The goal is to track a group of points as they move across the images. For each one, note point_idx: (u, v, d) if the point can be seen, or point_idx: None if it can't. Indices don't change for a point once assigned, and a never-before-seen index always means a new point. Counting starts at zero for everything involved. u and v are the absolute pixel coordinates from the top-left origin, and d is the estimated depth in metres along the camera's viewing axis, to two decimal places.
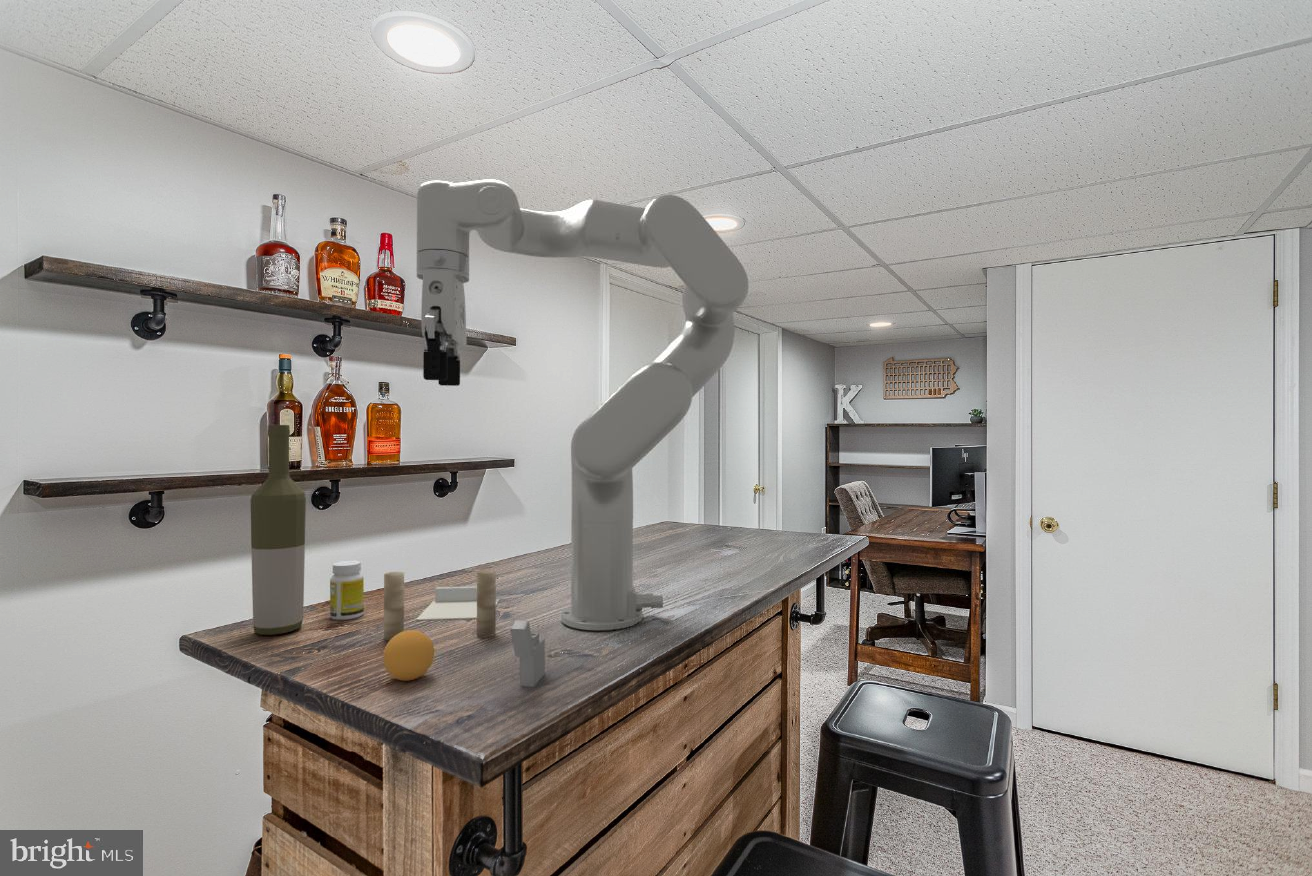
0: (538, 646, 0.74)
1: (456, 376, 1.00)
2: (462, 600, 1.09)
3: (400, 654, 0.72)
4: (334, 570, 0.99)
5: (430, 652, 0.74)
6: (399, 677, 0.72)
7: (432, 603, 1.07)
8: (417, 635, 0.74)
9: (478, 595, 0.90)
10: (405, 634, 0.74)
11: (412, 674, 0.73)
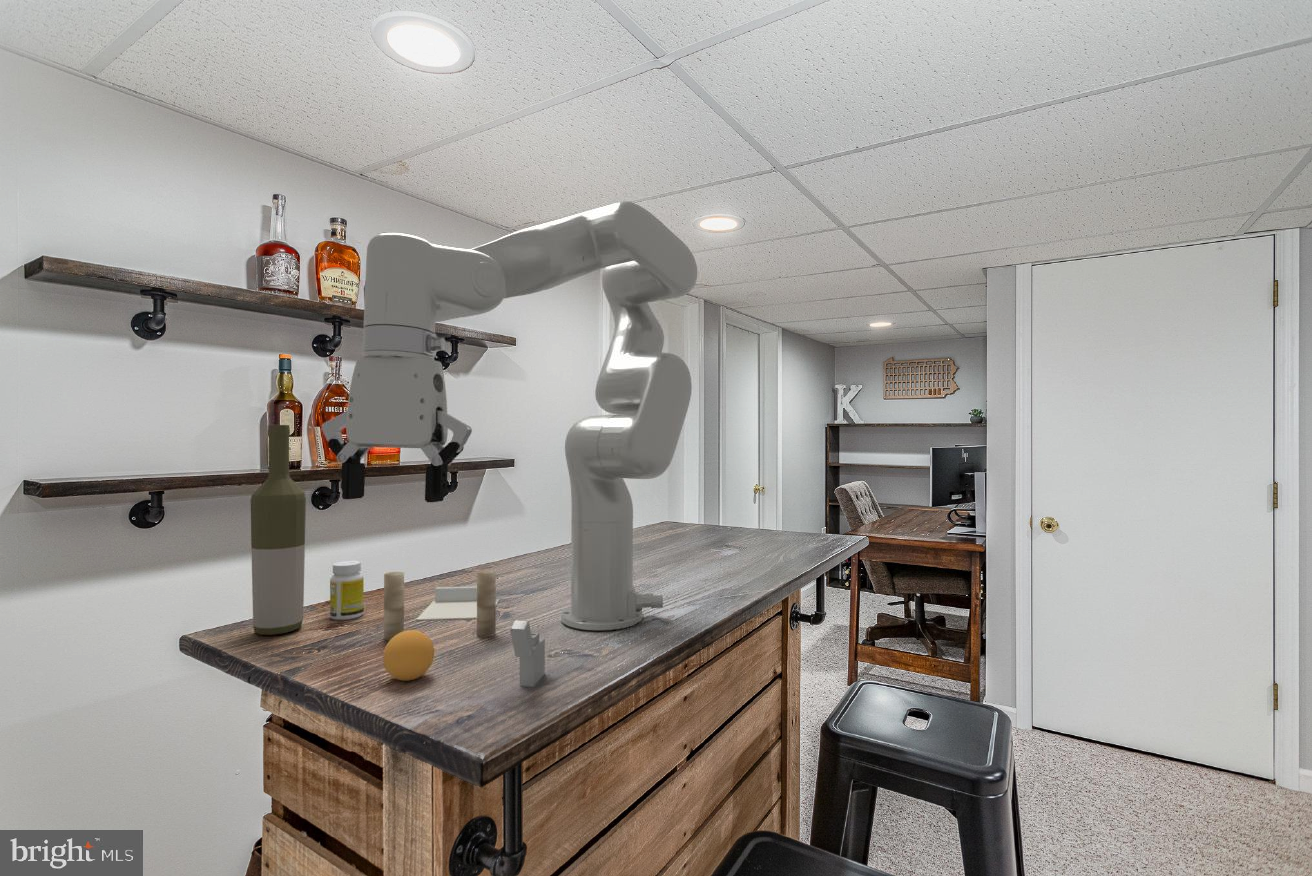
0: (538, 646, 0.74)
1: (362, 485, 0.73)
2: (462, 600, 1.09)
3: (400, 654, 0.72)
4: (334, 570, 0.99)
5: (430, 652, 0.74)
6: (399, 677, 0.72)
7: (432, 603, 1.07)
8: (417, 635, 0.74)
9: (478, 595, 0.90)
10: (405, 634, 0.74)
11: (412, 674, 0.73)
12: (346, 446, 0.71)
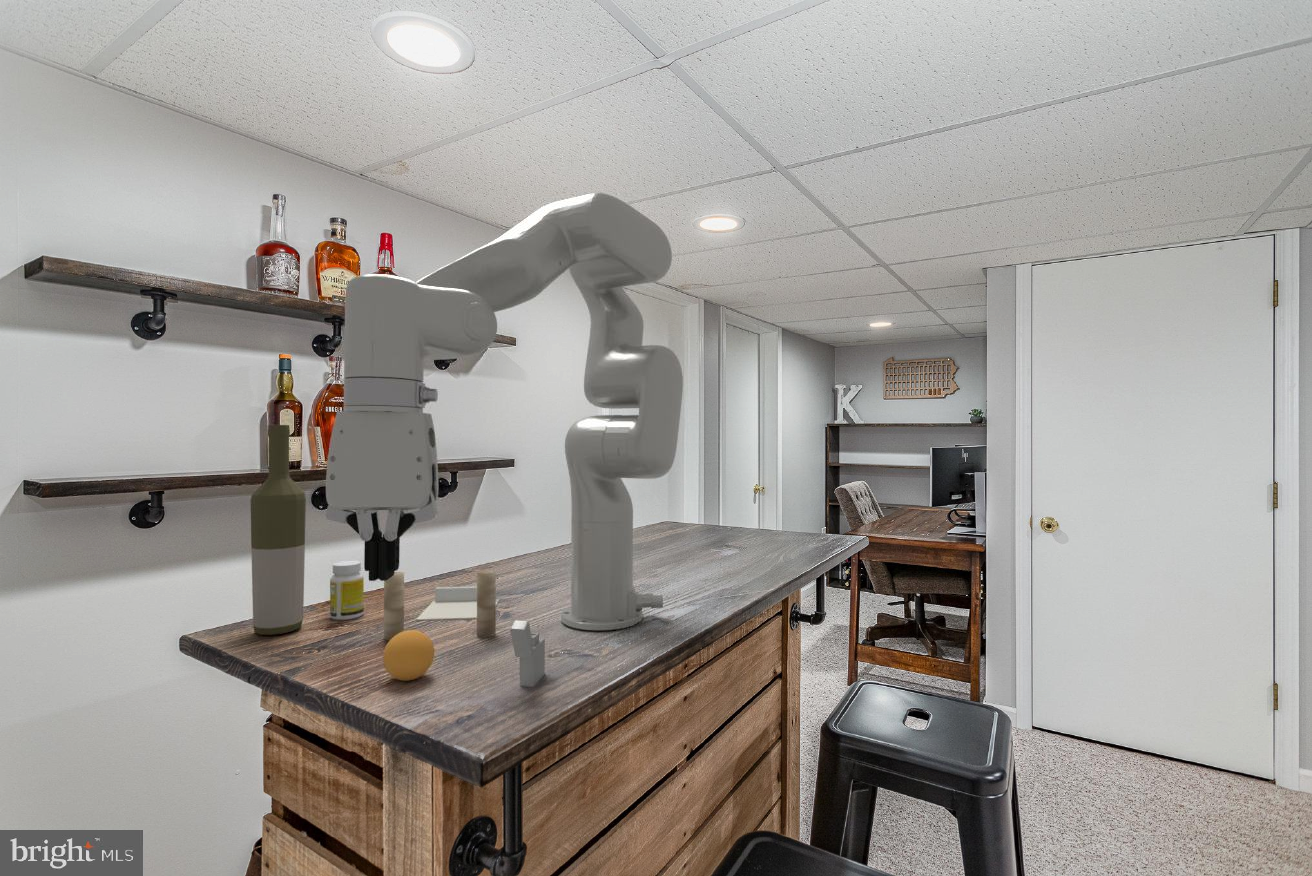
0: (538, 646, 0.74)
1: None
2: (462, 600, 1.09)
3: (400, 654, 0.72)
4: (334, 570, 0.99)
5: (430, 652, 0.74)
6: (399, 677, 0.72)
7: (432, 603, 1.07)
8: (417, 635, 0.74)
9: (478, 595, 0.90)
10: (405, 634, 0.74)
11: (412, 674, 0.73)
12: (359, 522, 0.64)
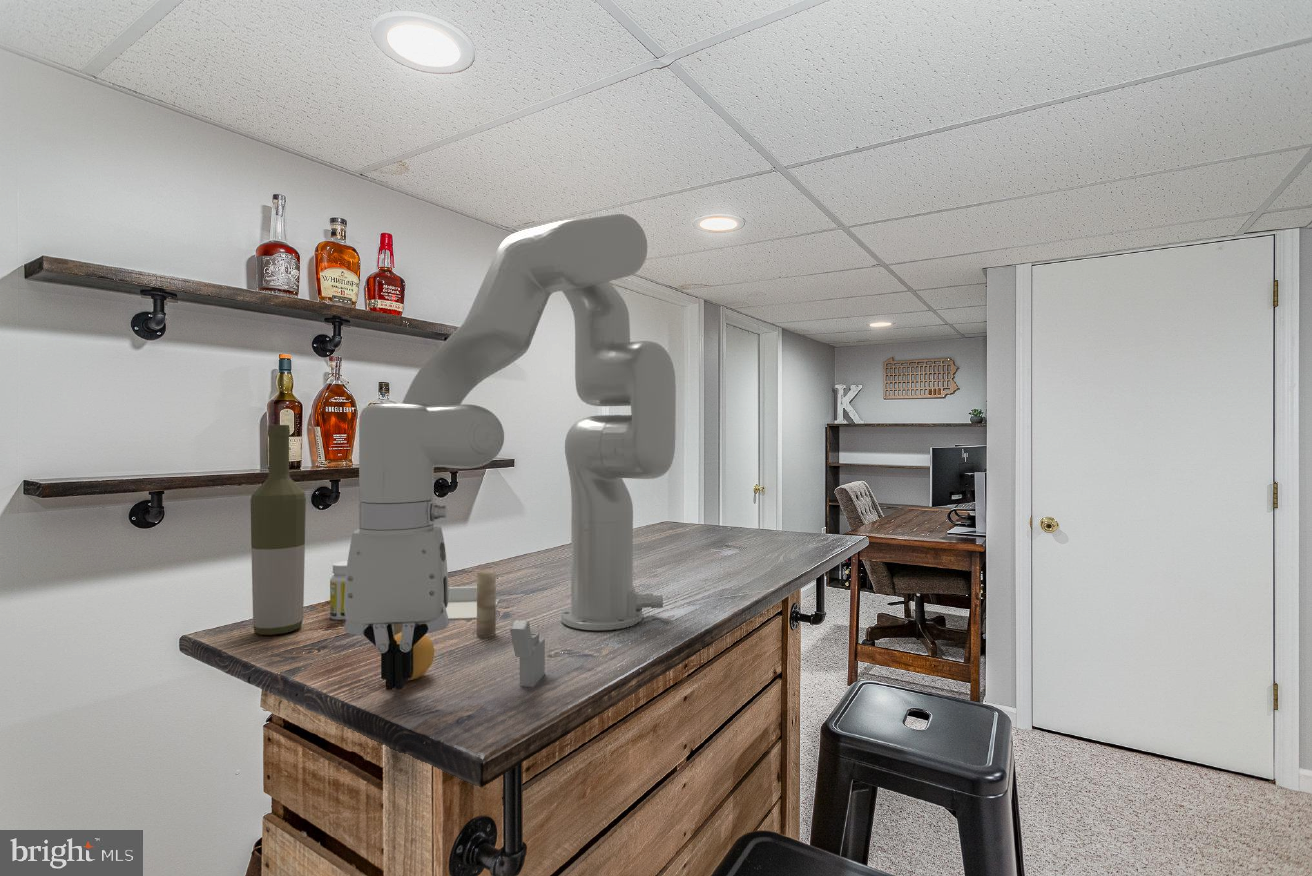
0: (538, 646, 0.74)
1: None
2: (462, 600, 1.09)
3: None
4: (334, 570, 0.99)
5: (430, 652, 0.74)
6: None
7: None
8: None
9: (478, 595, 0.90)
10: None
11: None
12: (376, 636, 0.68)
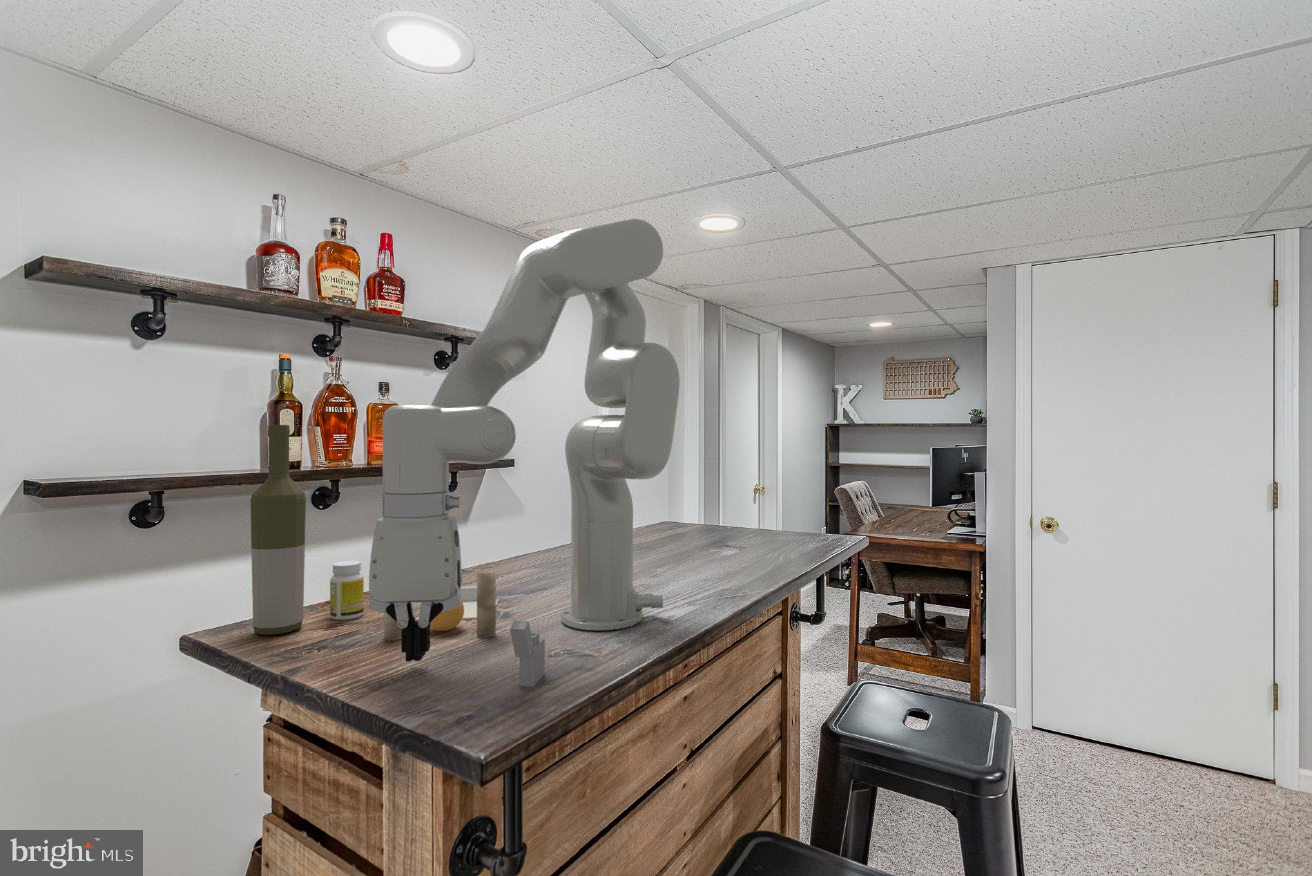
0: (538, 646, 0.74)
1: None
2: (462, 600, 1.09)
3: None
4: (334, 570, 0.99)
5: (460, 608, 0.92)
6: (437, 628, 0.91)
7: None
8: None
9: (478, 595, 0.90)
10: None
11: (446, 625, 0.91)
12: (397, 613, 0.76)
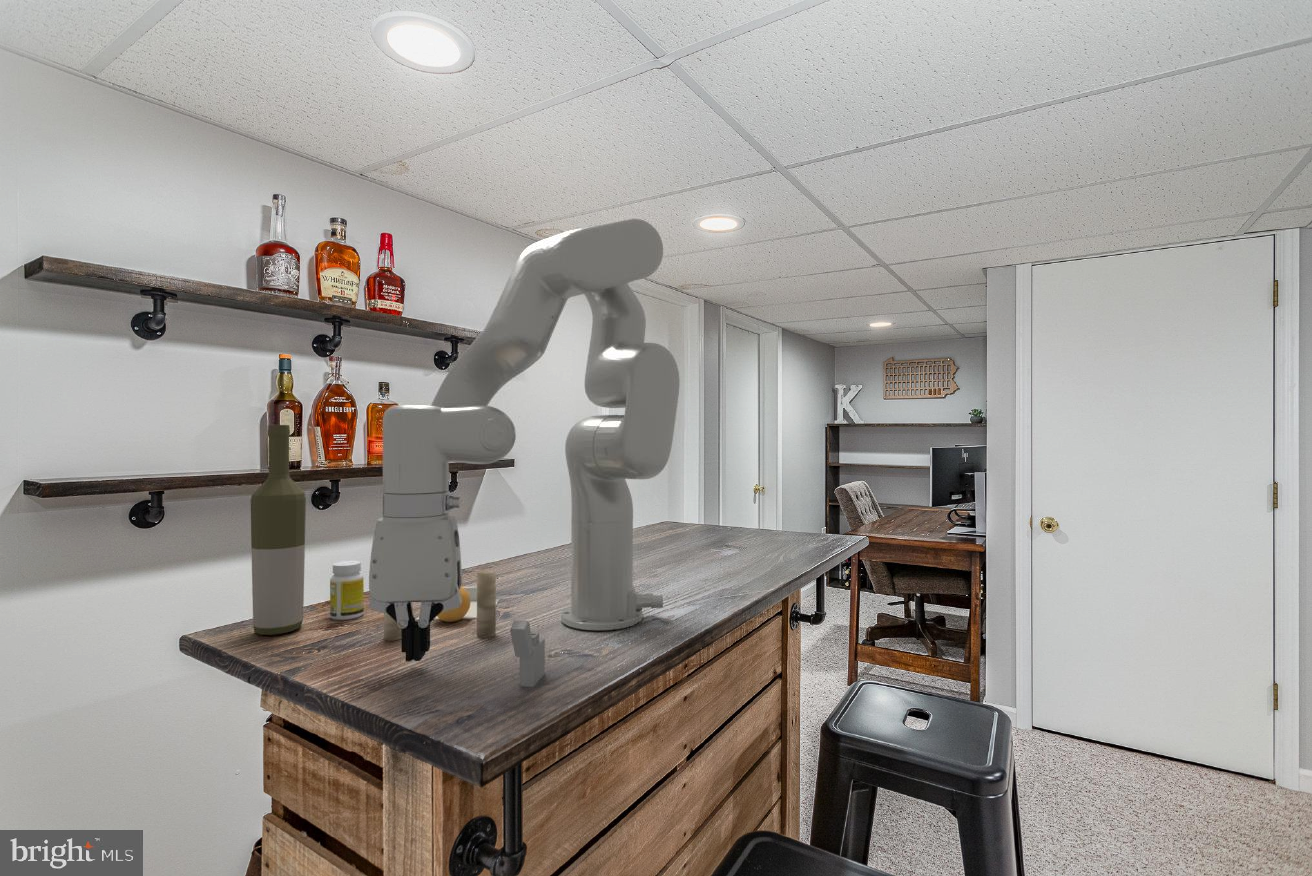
0: (538, 646, 0.74)
1: None
2: None
3: None
4: (334, 570, 0.99)
5: None
6: None
7: None
8: None
9: (478, 595, 0.90)
10: None
11: None
12: (397, 613, 0.76)
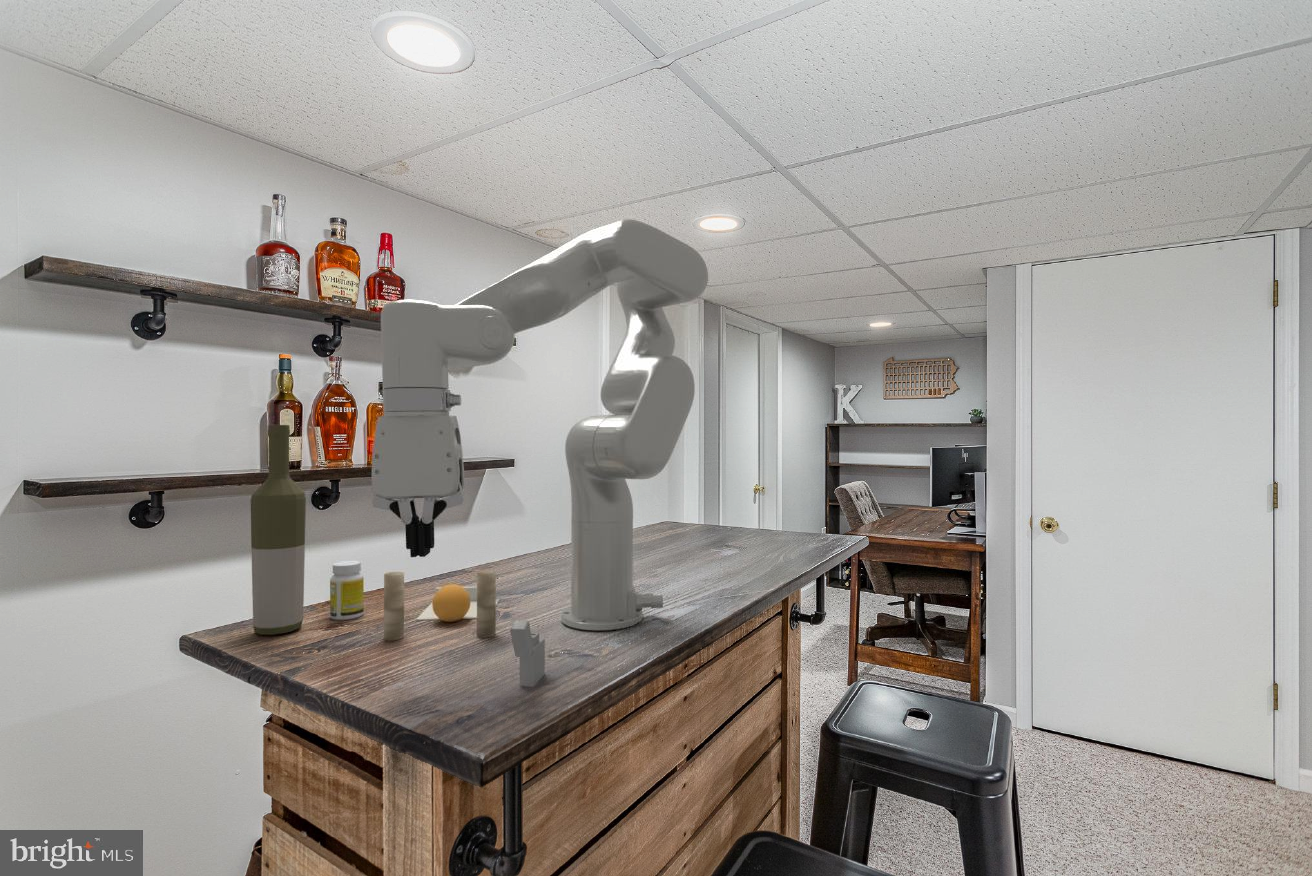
0: (538, 646, 0.74)
1: None
2: None
3: None
4: (334, 570, 0.99)
5: None
6: (445, 591, 0.96)
7: None
8: None
9: (478, 595, 0.90)
10: None
11: (455, 589, 0.97)
12: (401, 509, 0.76)
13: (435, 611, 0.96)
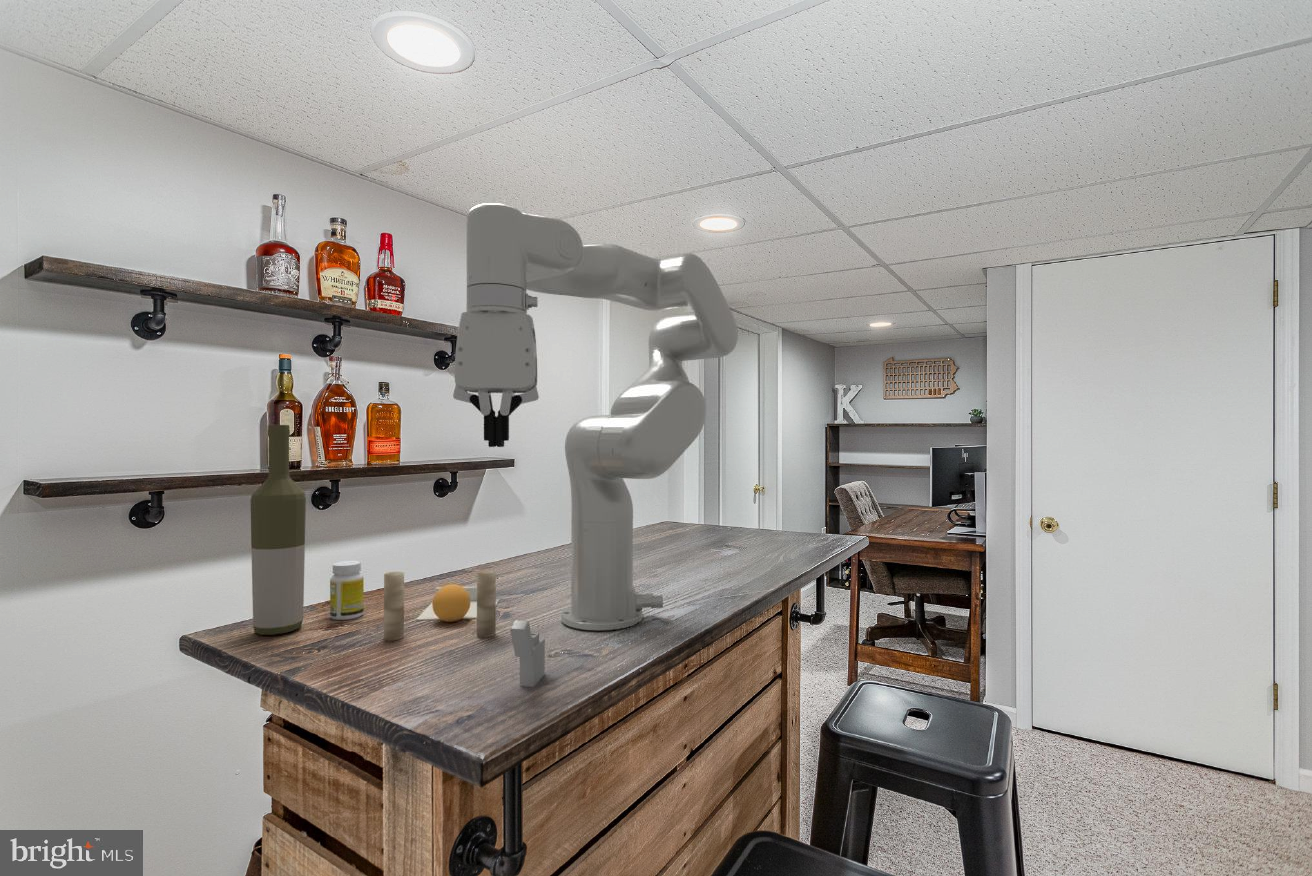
0: (538, 646, 0.74)
1: None
2: None
3: None
4: (334, 570, 0.99)
5: None
6: (445, 591, 0.96)
7: None
8: None
9: (478, 595, 0.90)
10: None
11: (455, 589, 0.97)
12: (480, 401, 0.81)
13: (435, 611, 0.96)
